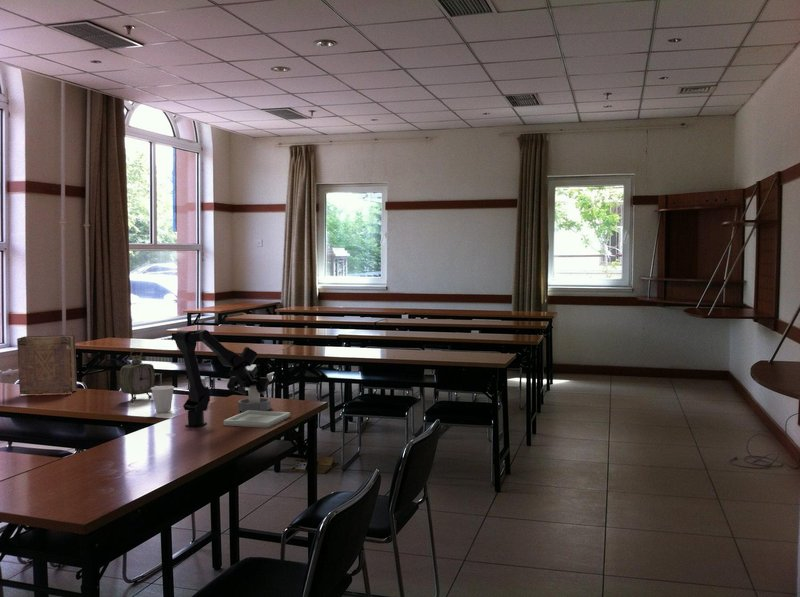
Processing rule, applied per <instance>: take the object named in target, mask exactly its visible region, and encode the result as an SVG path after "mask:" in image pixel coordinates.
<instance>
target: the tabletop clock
mask: <svg viewBox="0 0 800 597" xmlns="http://www.w3.org/2000/svg"><path fill="white" fill-rule="evenodd" d="M137 351H138V352H140V354H139V355H138V354H136V355H135V356H133V355H132V353H134V352H137ZM129 356H130V357H131V358H132V360H131V362H130V364H125V365H123V366H122V367H121V368H120V371H119V385H120V390H121V392H122V393H123V394H127V395H130V396H131V399H130V403H134V401H135V400H133V399H136V400H137V395H144V394H146V395H147V396H148V399H153V395H151V394H150V393H152V390H151V388H152V387H156V386H155V384H156V374H155V368H154V365H153V364H152V363H143V361H142V360H141V359H140V358H141V357H142V356H143V351H142V350H141V349H138V348H136V349H133V350H131V352H130V354H129Z"/></svg>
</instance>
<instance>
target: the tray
mask: <svg viewBox="0 0 800 597" xmlns="http://www.w3.org/2000/svg"><path fill="white" fill-rule="evenodd" d="M290 417H291V412H290V411H289V412H288V411H287V412H286V411H269V410H267V411H253V410H248V411H245V412H240V413H238V414H236V415H233V416H231V417H228V418H226V419H223V426H232V427H233V426H234V427H249V428H251V427H252V428H263V429H264V428H265V429H269V428H270V427H273V426H274V425H276V424H278V423H281V422H283V421H285V420H287V419H289V418H290Z"/></svg>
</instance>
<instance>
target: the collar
mask: <svg viewBox="0 0 800 597" xmlns="http://www.w3.org/2000/svg"><path fill="white" fill-rule="evenodd" d="M269 409H270V410H271V399H270V398H267V397H260V403H249V397H247V398H242V399H240V400H238V412H240V411H241V412H240V413H243V412H245V411H248V410H253V411H269Z"/></svg>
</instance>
